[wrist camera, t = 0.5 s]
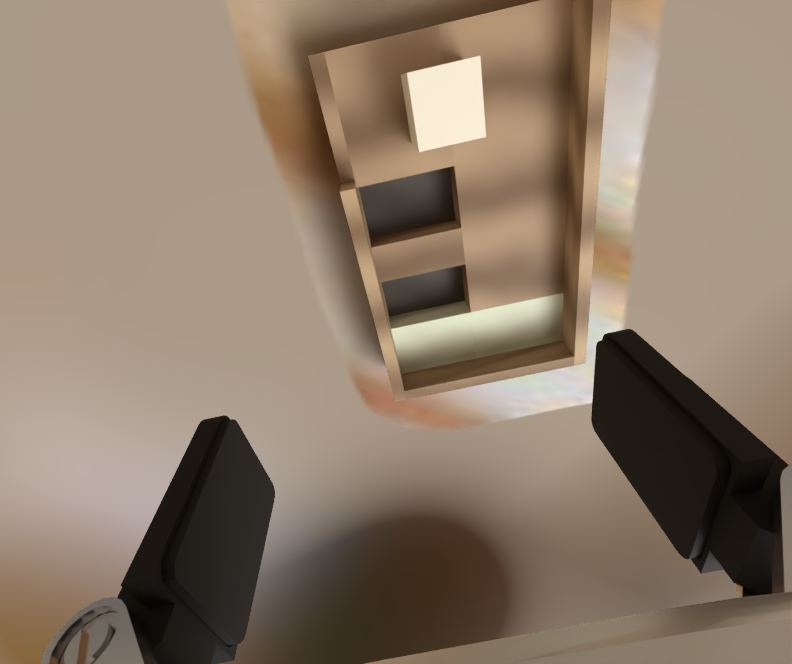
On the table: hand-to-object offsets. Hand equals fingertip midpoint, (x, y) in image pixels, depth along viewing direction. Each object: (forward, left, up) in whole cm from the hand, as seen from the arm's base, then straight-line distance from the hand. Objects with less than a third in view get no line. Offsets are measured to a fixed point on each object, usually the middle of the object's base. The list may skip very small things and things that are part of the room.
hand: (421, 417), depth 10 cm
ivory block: (-6, +5, -22) cm, 23 cm away
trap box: (+3, +6, -24) cm, 25 cm away
